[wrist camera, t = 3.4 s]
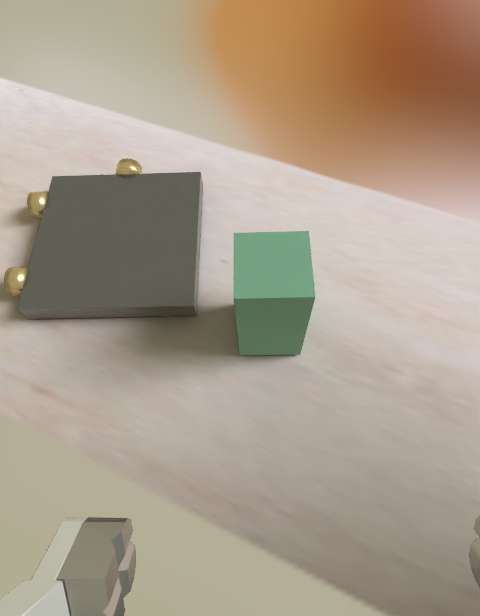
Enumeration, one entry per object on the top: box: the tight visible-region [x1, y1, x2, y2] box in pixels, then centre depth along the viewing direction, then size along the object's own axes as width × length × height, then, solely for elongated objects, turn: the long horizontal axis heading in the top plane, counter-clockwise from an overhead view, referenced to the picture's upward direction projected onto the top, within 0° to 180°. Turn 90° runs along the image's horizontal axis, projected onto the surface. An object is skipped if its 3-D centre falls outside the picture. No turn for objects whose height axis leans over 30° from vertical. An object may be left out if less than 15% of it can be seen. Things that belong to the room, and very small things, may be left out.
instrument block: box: [234, 231, 315, 355], centre depth 25 cm, size 4×5×8 cm
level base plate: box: [4, 159, 203, 319], centre depth 31 cm, size 13×13×2 cm
